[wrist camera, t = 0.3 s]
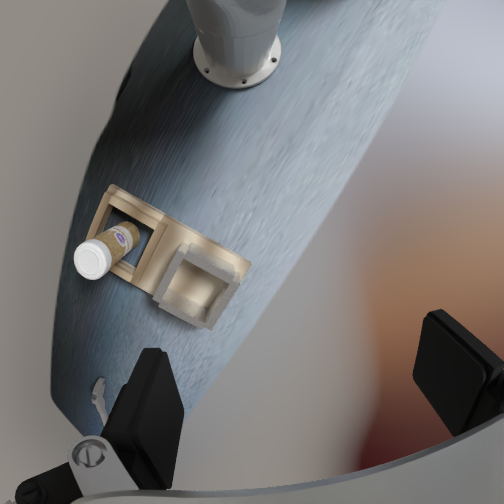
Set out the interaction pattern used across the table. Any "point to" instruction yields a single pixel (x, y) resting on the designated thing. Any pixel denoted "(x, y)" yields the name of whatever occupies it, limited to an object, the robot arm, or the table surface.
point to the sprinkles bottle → (105, 250)
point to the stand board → (164, 250)
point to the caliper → (100, 399)
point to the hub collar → (187, 307)
